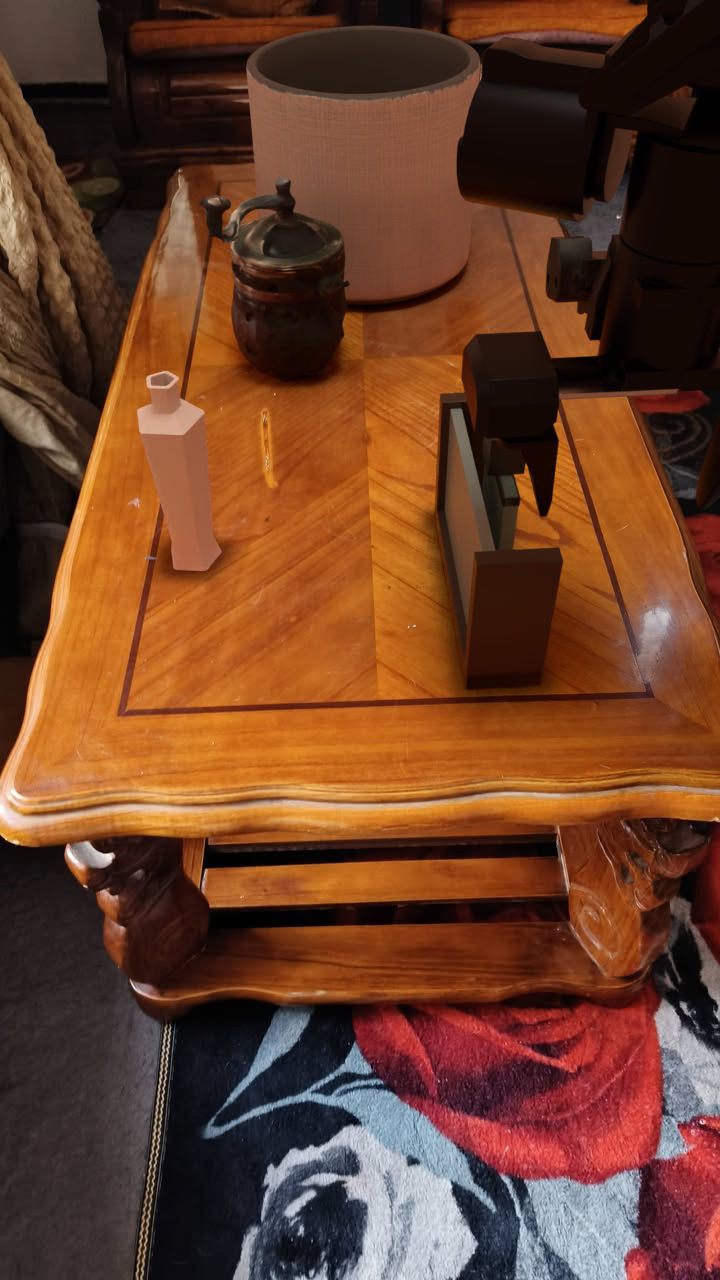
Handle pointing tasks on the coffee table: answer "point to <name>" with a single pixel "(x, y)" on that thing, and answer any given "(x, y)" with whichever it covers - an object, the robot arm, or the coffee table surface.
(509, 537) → the pane
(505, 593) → the window frame
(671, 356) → the robot arm
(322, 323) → the coffee grinder
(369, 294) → the planter
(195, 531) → the perfume bottle
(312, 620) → the coffee table surface
